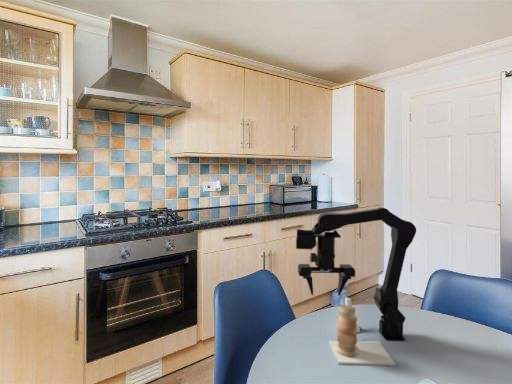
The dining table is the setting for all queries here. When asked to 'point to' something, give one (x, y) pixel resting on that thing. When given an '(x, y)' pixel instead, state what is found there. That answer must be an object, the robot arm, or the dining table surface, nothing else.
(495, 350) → the dining table surface
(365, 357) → the mat
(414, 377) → the dining table surface
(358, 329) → the white vr controller
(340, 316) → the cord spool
